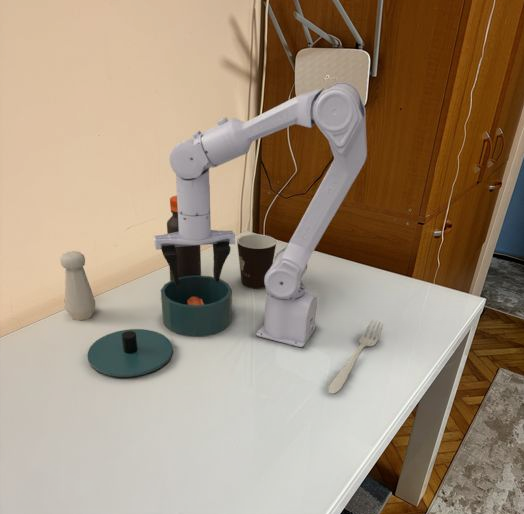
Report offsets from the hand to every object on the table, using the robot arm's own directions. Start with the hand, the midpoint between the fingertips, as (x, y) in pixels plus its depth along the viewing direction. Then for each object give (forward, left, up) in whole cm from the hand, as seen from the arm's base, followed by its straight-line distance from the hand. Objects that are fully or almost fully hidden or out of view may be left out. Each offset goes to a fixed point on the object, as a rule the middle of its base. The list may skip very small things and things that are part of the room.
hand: (196, 280), depth 97 cm
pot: (0, 0, -8) cm, 8 cm away
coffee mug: (-3, -22, -9) cm, 24 cm away
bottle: (+9, -11, -9) cm, 17 cm away
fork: (-32, 0, -9) cm, 33 cm away
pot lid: (+4, +17, -8) cm, 19 cm away
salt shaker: (+21, +9, -9) cm, 24 cm away
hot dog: (0, 0, -8) cm, 8 cm away
